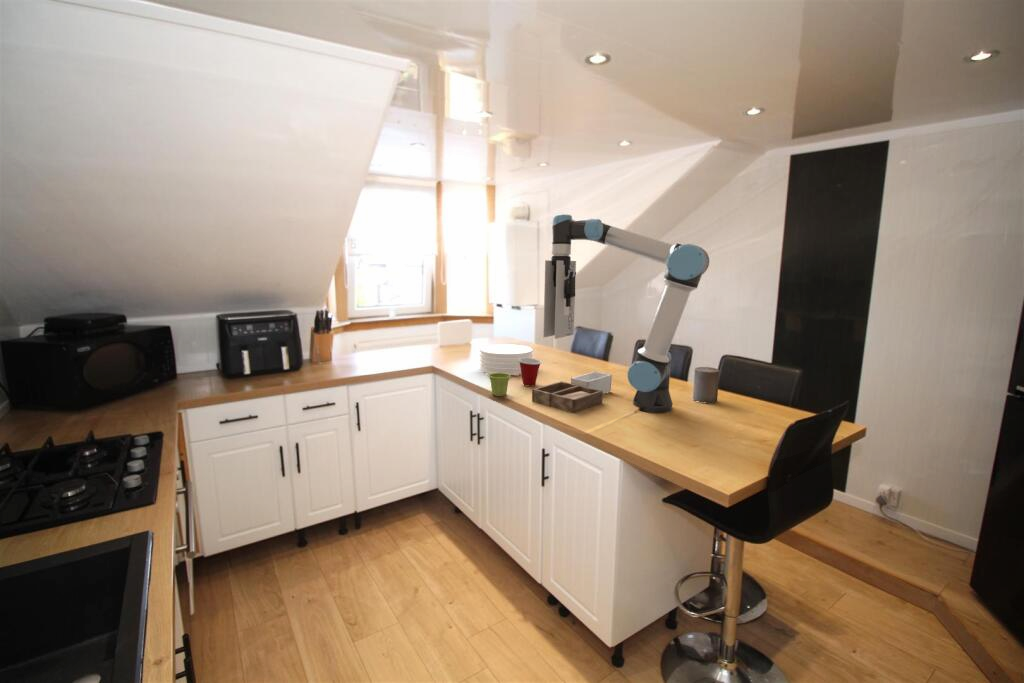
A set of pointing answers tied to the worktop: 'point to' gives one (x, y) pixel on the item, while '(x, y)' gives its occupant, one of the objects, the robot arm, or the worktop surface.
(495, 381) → the plant pot
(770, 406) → the worktop surface
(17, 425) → the worktop surface
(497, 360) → the plate stack
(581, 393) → the offcut top
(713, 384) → the pillar candle
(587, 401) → the tray
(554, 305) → the brochure
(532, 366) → the plastic cup
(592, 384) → the holder
